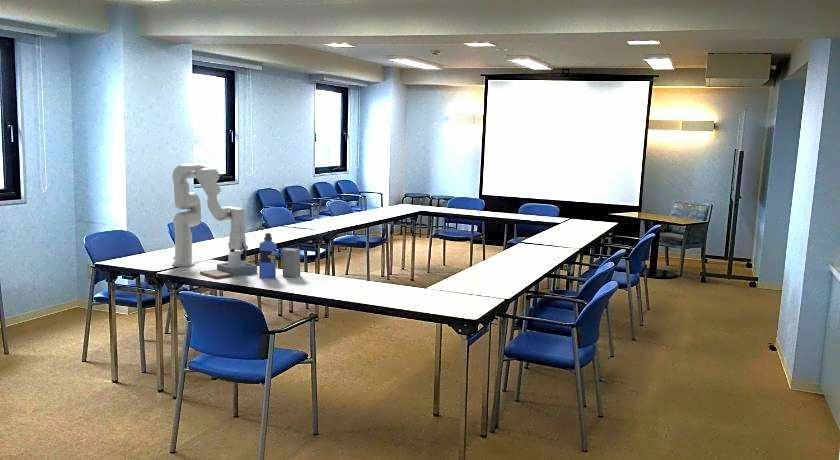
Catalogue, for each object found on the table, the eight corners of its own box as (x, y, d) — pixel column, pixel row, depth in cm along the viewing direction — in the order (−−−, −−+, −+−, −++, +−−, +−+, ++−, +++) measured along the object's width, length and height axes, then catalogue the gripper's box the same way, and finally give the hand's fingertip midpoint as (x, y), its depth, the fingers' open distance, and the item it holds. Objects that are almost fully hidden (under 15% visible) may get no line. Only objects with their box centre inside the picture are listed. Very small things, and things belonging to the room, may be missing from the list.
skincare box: (300, 275, 402) (301, 248, 399) (294, 278, 395) (295, 250, 393) (287, 274, 404) (288, 247, 402) (281, 276, 398) (281, 248, 395)
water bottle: (279, 276, 397) (280, 233, 393) (269, 279, 388) (269, 235, 385) (265, 274, 400) (266, 231, 397) (255, 277, 392) (256, 233, 388)
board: (200, 274, 393) (200, 271, 392) (215, 271, 400) (215, 269, 400) (216, 279, 383) (216, 276, 382) (232, 276, 390) (232, 274, 390)
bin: (216, 271, 401) (216, 264, 400) (240, 268, 413) (240, 260, 413) (233, 276, 391) (233, 268, 390) (257, 272, 403) (257, 265, 403)
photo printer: (244, 271, 407) (244, 250, 405) (246, 272, 403) (247, 251, 402) (226, 272, 401) (227, 251, 399) (229, 273, 398) (229, 252, 396)
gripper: (223, 228, 401) (223, 257, 404) (241, 231, 390) (241, 261, 393) (234, 227, 407) (234, 256, 409) (252, 230, 396) (252, 260, 398)
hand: (238, 259), depth 401 cm, fingers open, 9 cm apart
